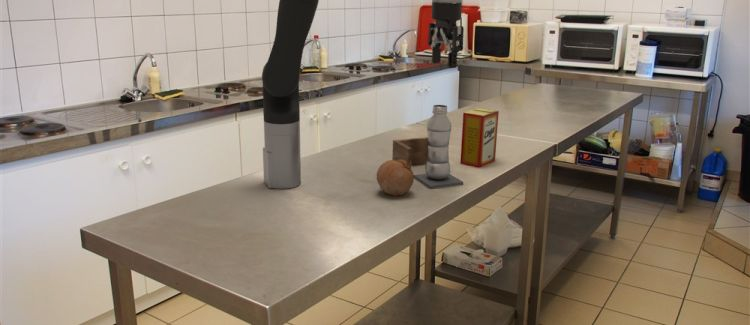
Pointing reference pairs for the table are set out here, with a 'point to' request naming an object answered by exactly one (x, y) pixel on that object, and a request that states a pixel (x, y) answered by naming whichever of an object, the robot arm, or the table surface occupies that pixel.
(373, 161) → the table surface
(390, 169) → the onion
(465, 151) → the baking soda box
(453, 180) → the rubber mat
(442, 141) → the plastic bottle
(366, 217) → the table surface
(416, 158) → the walnut rack
